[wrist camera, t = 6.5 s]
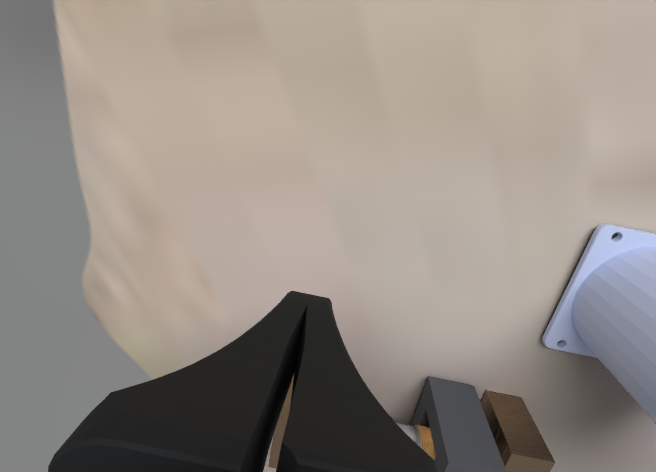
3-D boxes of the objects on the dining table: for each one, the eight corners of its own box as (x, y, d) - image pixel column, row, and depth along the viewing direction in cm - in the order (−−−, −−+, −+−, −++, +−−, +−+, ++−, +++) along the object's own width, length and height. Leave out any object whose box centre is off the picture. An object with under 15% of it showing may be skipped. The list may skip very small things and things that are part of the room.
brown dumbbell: (521, 397, 25) (556, 464, 20) (495, 450, 26) (521, 521, 22) (293, 350, 25) (278, 407, 20) (283, 406, 27) (267, 468, 22)
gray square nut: (474, 386, 24) (507, 474, 18) (446, 450, 26) (469, 547, 21) (428, 376, 24) (448, 462, 18) (404, 441, 26) (416, 536, 21)
